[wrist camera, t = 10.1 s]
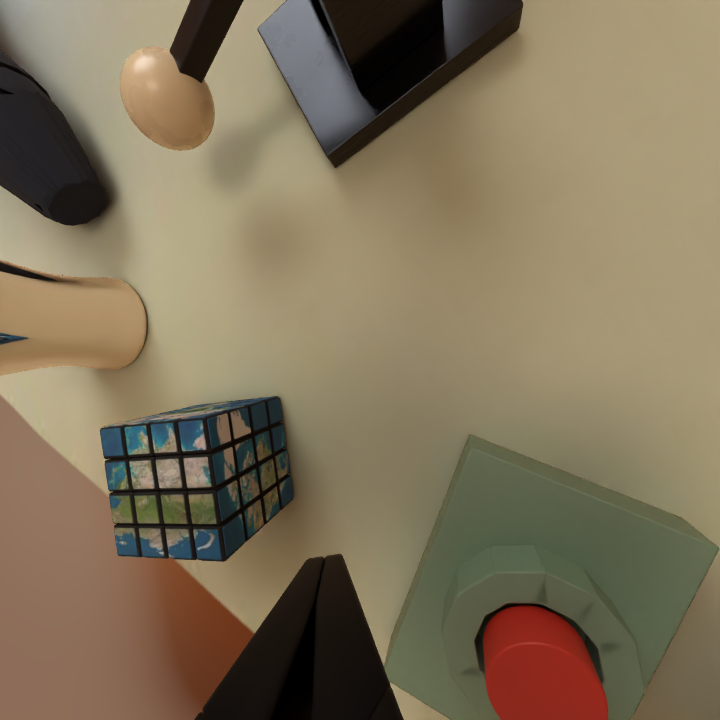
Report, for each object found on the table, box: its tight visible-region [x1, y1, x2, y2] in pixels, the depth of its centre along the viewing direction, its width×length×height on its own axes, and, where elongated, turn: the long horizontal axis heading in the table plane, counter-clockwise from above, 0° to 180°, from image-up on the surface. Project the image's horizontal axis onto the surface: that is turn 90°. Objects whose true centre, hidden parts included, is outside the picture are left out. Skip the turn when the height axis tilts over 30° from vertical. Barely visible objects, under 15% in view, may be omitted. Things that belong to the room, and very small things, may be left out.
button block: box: [384, 435, 719, 720], centre depth 14 cm, size 12×9×4 cm
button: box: [483, 605, 608, 720], centre depth 12 cm, size 4×4×2 cm
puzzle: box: [100, 396, 294, 562], centre depth 17 cm, size 6×6×6 cm
